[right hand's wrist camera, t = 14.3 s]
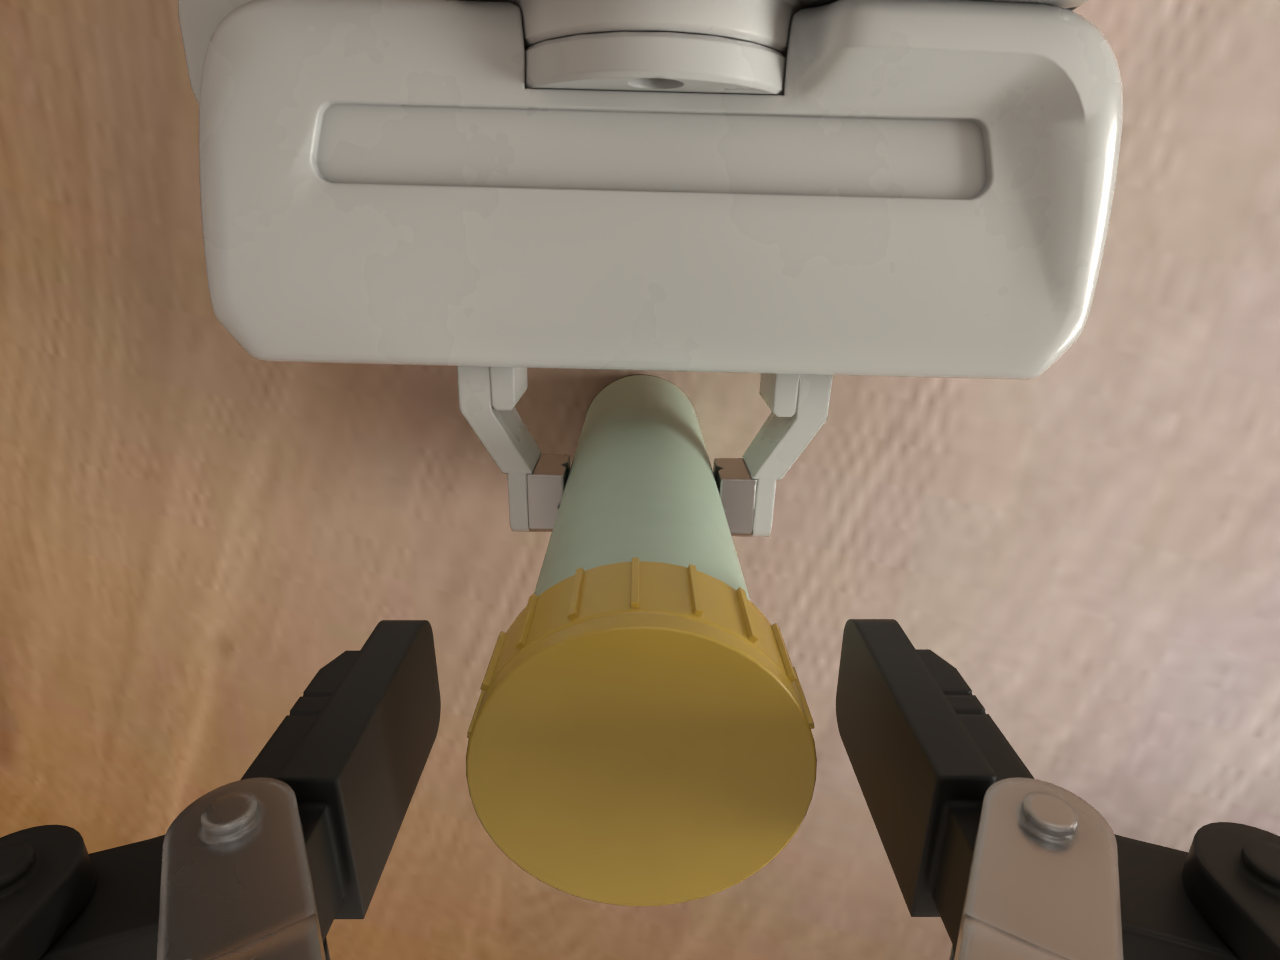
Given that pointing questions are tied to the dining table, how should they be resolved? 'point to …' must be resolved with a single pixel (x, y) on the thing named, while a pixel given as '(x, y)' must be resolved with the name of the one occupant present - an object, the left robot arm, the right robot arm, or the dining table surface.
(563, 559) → the jar
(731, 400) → the dining table surface
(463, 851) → the dining table surface
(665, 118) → the left robot arm
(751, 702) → the lid
